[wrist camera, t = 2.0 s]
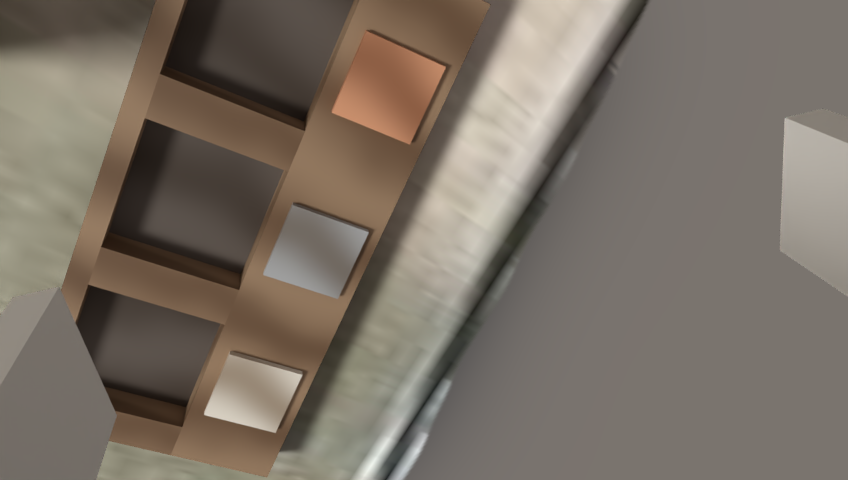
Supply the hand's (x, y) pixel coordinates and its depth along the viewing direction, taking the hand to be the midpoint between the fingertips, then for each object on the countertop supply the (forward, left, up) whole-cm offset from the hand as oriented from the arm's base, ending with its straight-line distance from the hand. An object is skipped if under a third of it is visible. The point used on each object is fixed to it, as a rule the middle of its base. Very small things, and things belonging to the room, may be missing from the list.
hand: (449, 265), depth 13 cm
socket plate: (-6, -10, -29) cm, 31 cm away
